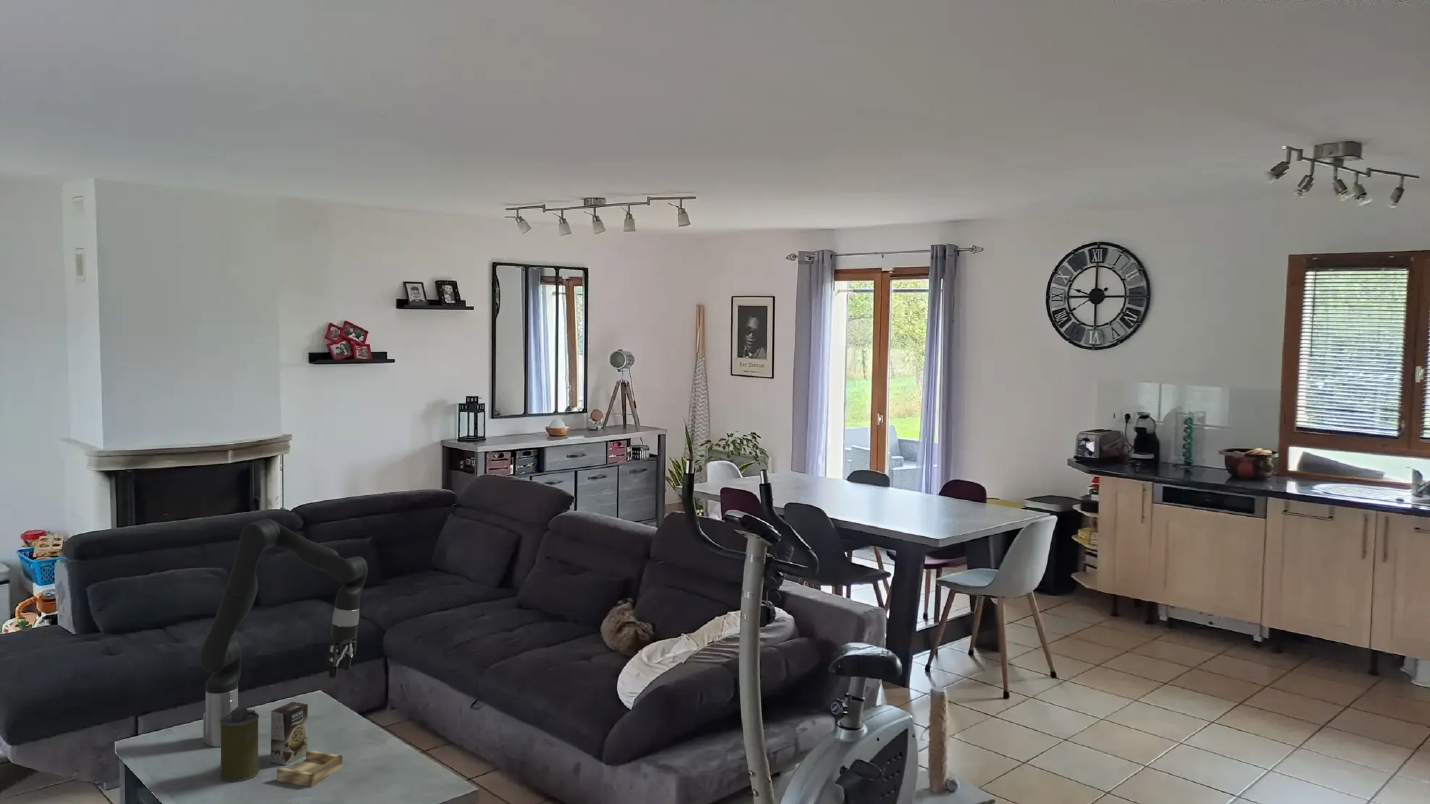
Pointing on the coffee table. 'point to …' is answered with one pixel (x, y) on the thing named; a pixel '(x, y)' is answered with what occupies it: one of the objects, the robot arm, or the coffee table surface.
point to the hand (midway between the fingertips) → (339, 673)
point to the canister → (239, 745)
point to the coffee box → (289, 733)
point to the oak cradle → (311, 769)
